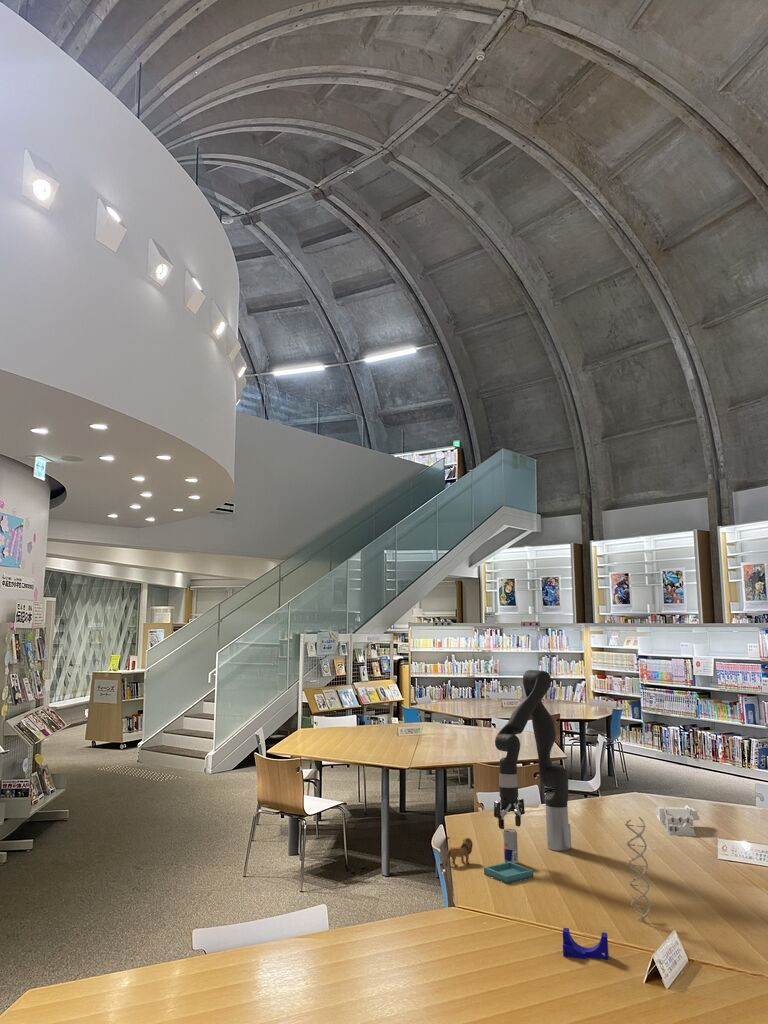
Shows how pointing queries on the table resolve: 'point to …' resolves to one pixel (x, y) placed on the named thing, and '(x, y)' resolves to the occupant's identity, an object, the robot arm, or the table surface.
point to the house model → (678, 820)
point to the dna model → (637, 870)
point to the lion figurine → (460, 852)
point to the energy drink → (510, 846)
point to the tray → (508, 872)
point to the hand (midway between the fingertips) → (509, 827)
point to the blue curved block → (582, 952)
